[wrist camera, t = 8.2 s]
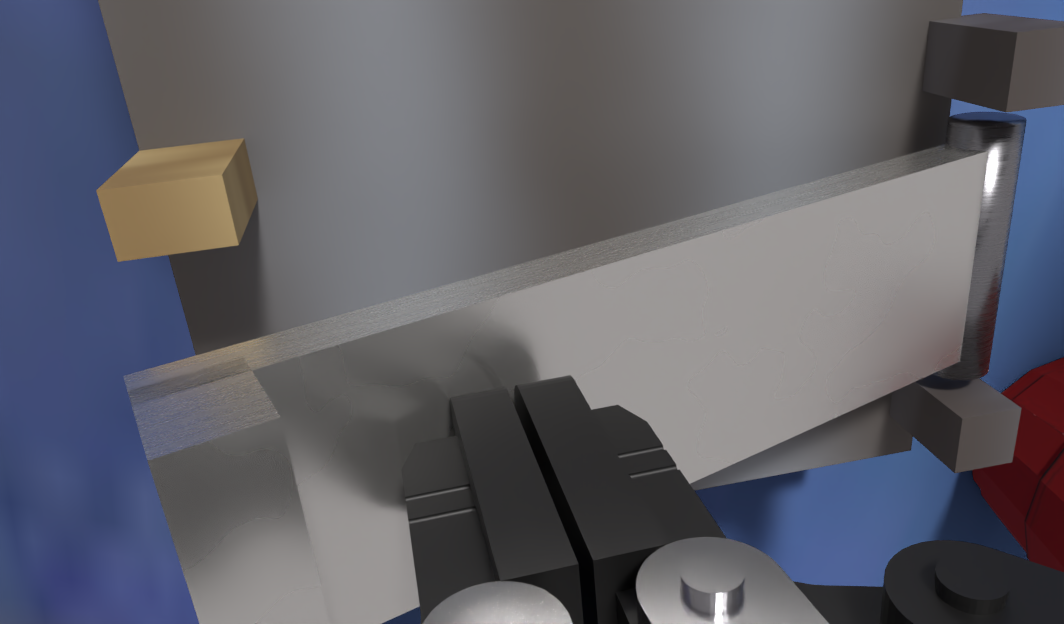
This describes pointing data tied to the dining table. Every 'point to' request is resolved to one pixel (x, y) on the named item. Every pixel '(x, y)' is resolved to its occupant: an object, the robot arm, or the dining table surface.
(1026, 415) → the plastic cup
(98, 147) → the dining table surface
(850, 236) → the strap
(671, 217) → the heat sink base
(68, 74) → the dining table surface
